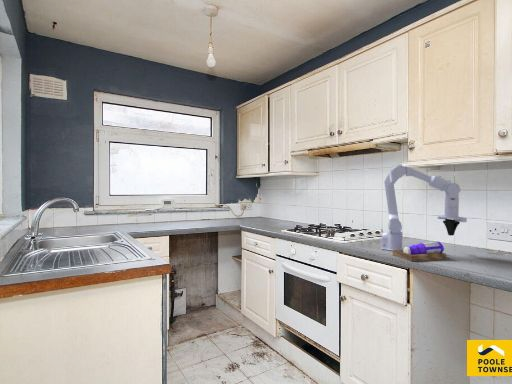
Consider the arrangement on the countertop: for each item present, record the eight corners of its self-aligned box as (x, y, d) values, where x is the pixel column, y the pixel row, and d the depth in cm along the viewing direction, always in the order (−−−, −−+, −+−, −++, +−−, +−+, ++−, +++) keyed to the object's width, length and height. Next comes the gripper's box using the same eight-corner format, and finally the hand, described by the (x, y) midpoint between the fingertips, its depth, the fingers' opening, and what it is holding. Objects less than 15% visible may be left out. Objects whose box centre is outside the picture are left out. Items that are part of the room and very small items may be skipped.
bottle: (439, 238, 141) (405, 242, 139) (446, 248, 137) (411, 252, 135) (433, 247, 147) (399, 251, 144) (439, 257, 143) (405, 261, 140)
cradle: (425, 253, 150) (425, 248, 150) (446, 259, 138) (446, 253, 138) (392, 255, 145) (392, 250, 145) (411, 261, 133) (411, 255, 133)
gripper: (472, 208, 141) (471, 237, 141) (445, 206, 155) (444, 232, 155) (460, 208, 139) (459, 238, 139) (434, 206, 153) (433, 233, 153)
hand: (450, 235), depth 147 cm, fingers closed
